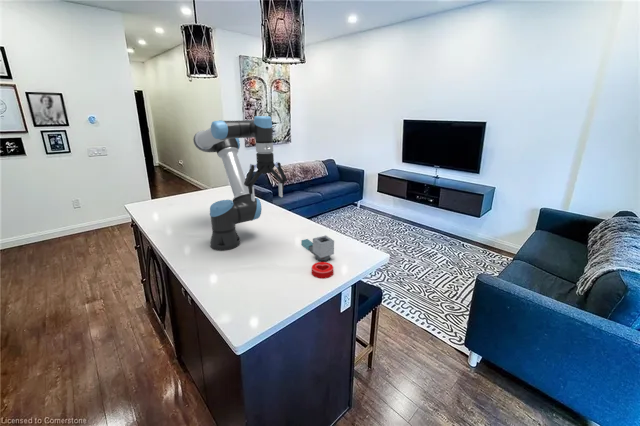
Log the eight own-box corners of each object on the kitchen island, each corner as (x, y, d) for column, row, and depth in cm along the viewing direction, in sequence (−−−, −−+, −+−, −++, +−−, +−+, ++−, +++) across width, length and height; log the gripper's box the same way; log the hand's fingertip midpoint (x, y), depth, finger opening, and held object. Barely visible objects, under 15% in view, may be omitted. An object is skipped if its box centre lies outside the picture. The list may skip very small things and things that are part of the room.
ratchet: (298, 245, 156) (298, 231, 153) (310, 242, 159) (310, 229, 157) (320, 263, 138) (320, 247, 135) (332, 259, 141) (333, 244, 138)
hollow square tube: (320, 257, 136) (320, 244, 134) (312, 251, 142) (312, 238, 140) (333, 254, 140) (334, 240, 138) (325, 248, 146) (325, 235, 144)
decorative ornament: (317, 280, 124) (317, 274, 123) (308, 270, 132) (308, 264, 131) (337, 276, 127) (337, 269, 126) (327, 265, 136) (327, 259, 135)
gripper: (239, 155, 121) (243, 204, 128) (293, 151, 133) (294, 196, 140) (234, 153, 127) (238, 200, 134) (286, 150, 139) (288, 193, 146)
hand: (267, 198), depth 137 cm, fingers open, 13 cm apart
